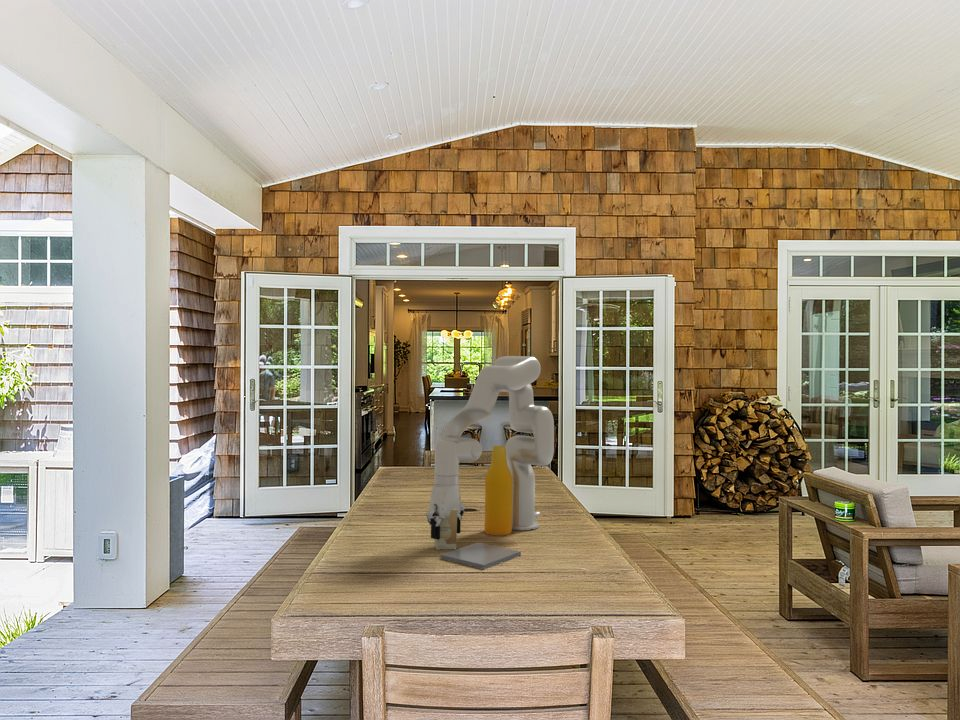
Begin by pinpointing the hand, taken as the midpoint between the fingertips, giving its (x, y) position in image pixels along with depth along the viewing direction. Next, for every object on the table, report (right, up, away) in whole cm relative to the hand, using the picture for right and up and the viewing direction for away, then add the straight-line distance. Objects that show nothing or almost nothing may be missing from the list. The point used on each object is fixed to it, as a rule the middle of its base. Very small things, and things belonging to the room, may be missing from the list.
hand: (445, 535), depth 217 cm
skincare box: (0, -4, 0) cm, 4 cm away
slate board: (+11, -4, -10) cm, 15 cm away
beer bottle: (+17, -4, +20) cm, 26 cm away
